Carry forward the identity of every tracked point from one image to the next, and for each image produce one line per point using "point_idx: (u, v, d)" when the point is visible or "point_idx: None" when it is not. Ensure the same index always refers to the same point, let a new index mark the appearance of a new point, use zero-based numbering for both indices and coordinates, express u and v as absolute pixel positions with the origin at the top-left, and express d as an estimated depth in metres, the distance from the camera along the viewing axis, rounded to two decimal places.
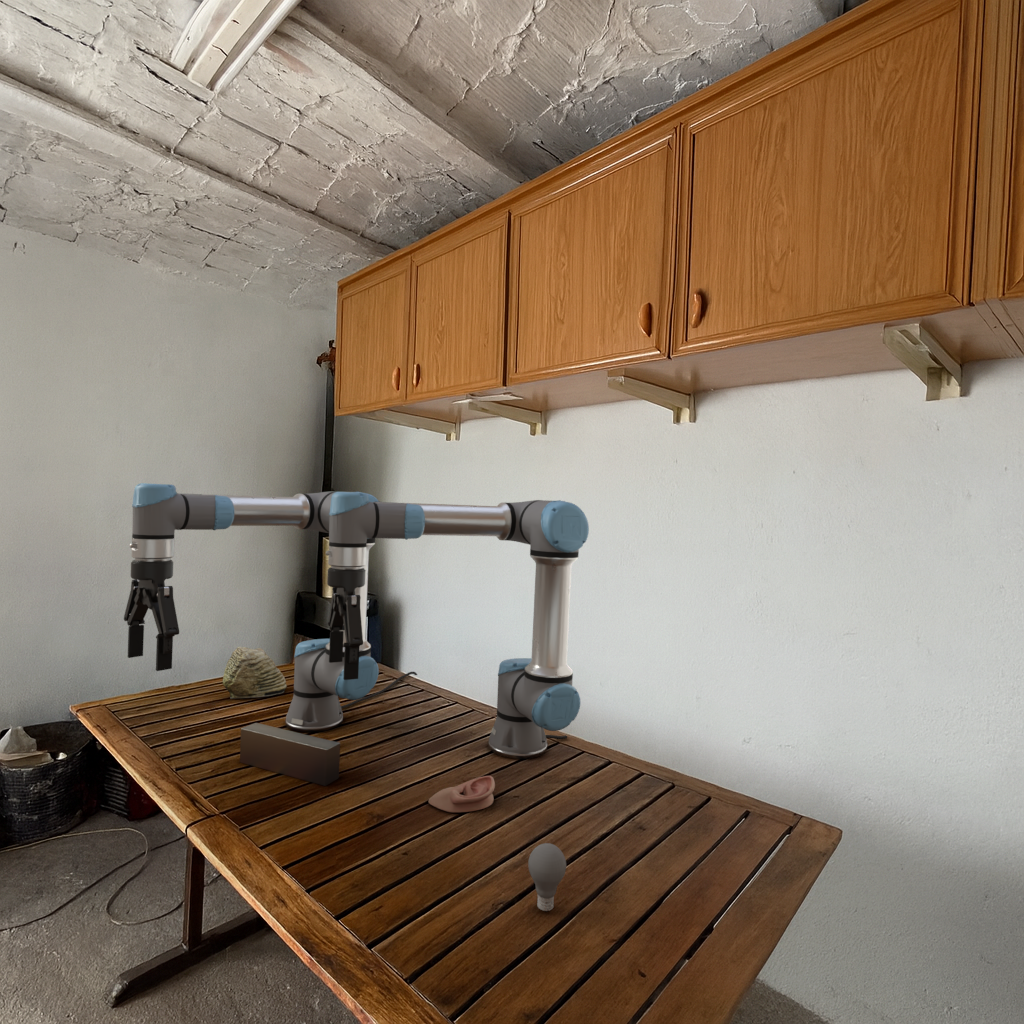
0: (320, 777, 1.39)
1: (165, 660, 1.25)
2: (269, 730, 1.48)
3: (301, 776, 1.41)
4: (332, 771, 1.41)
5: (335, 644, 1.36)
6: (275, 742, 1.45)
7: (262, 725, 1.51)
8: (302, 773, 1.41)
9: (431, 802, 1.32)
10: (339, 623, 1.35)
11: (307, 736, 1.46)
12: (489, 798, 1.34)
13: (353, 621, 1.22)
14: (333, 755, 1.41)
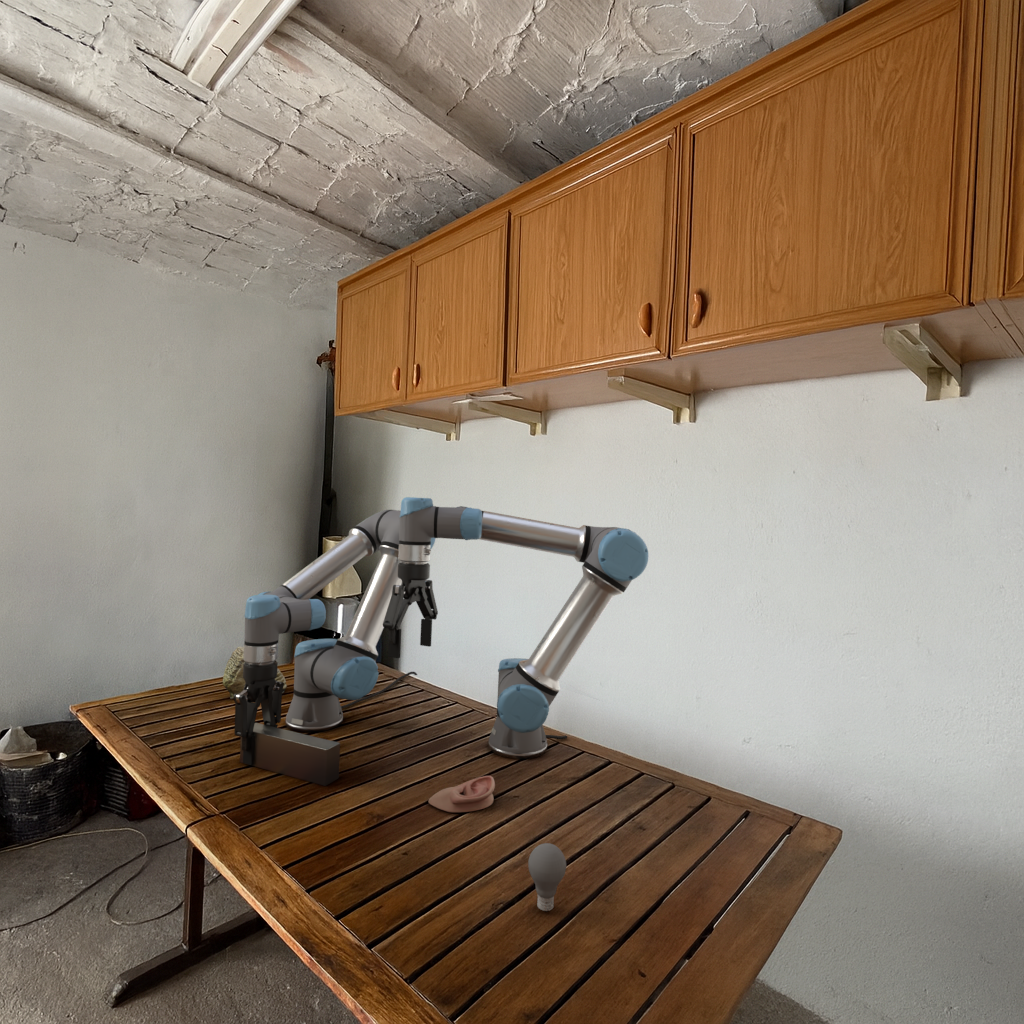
0: (320, 777, 1.39)
1: None
2: (269, 730, 1.48)
3: (301, 776, 1.41)
4: (332, 771, 1.41)
5: None
6: (275, 742, 1.44)
7: (262, 725, 1.51)
8: (302, 773, 1.41)
9: (431, 802, 1.32)
10: None
11: (307, 736, 1.46)
12: (489, 798, 1.34)
13: None
14: (333, 755, 1.41)
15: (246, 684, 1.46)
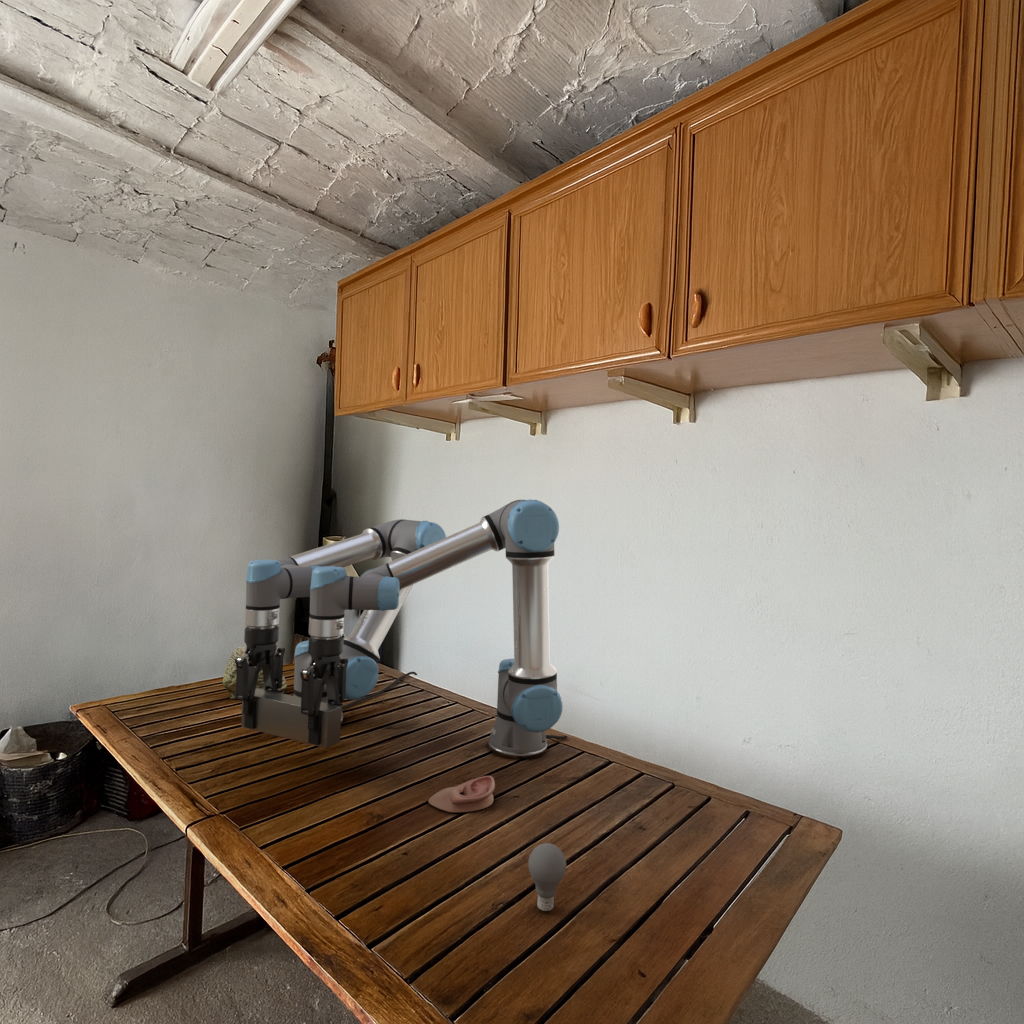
0: (321, 739, 1.39)
1: None
2: (270, 694, 1.48)
3: (302, 739, 1.41)
4: (333, 734, 1.40)
5: None
6: (276, 706, 1.44)
7: (263, 690, 1.51)
8: (303, 736, 1.41)
9: (431, 802, 1.32)
10: None
11: None
12: (489, 798, 1.34)
13: None
14: (334, 718, 1.41)
15: (247, 648, 1.46)
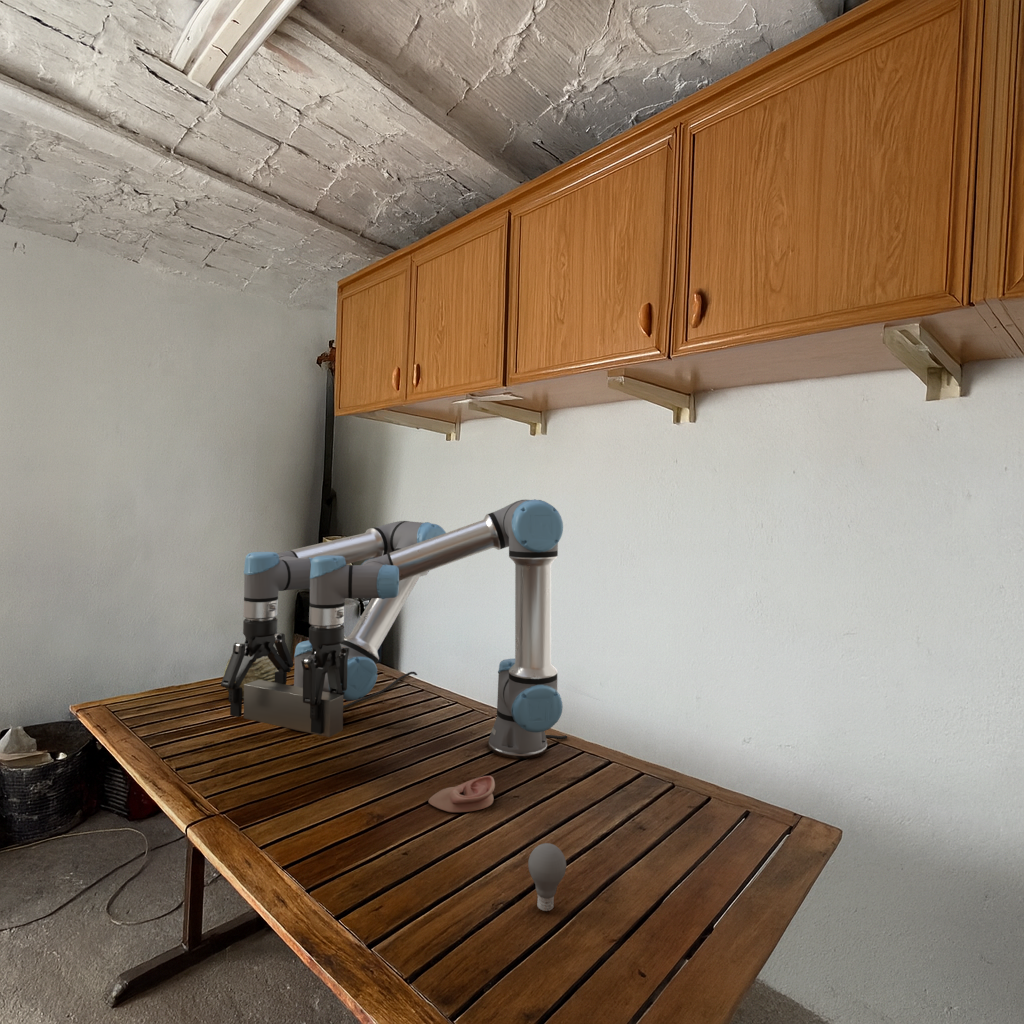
0: (324, 728, 1.39)
1: None
2: (272, 685, 1.48)
3: (305, 728, 1.41)
4: (336, 723, 1.41)
5: None
6: (278, 696, 1.44)
7: (265, 681, 1.51)
8: (306, 726, 1.41)
9: (431, 802, 1.32)
10: None
11: None
12: (489, 798, 1.34)
13: None
14: (336, 707, 1.41)
15: (246, 640, 1.46)
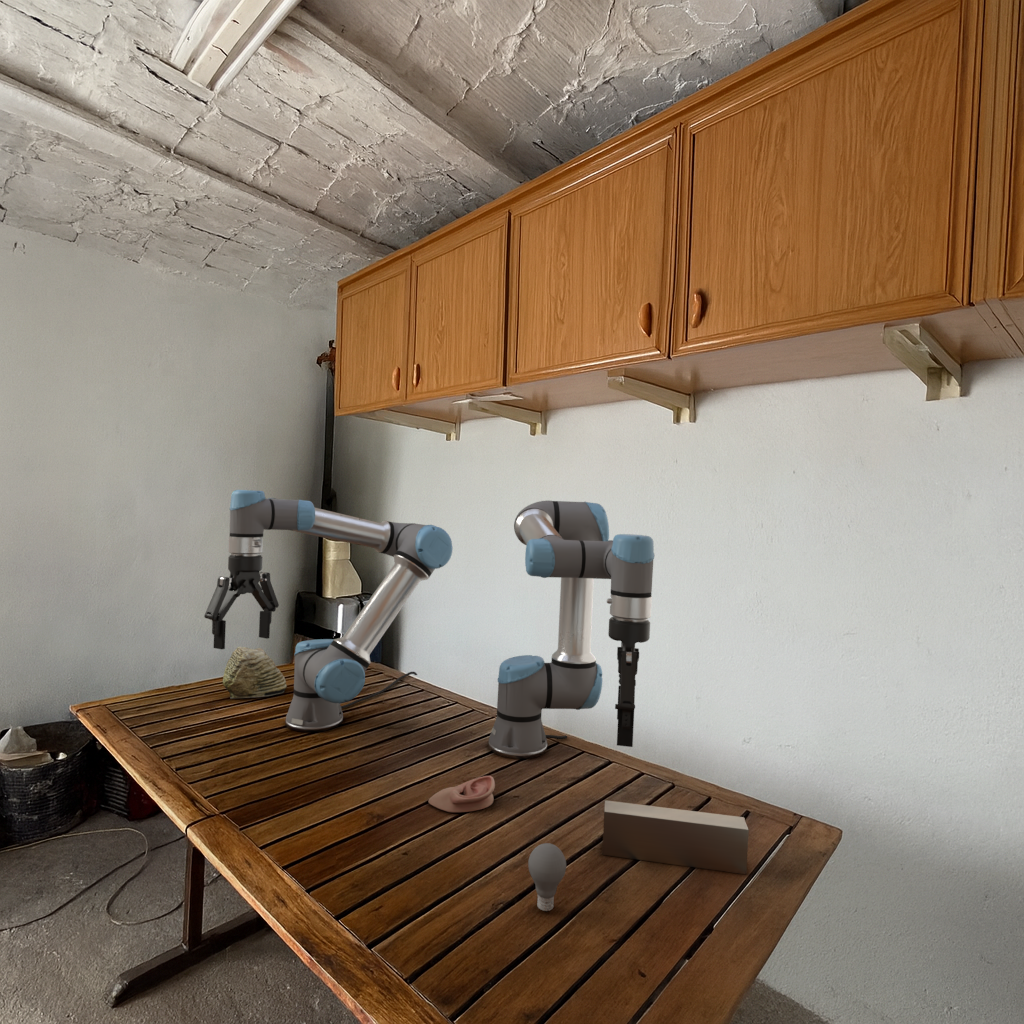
0: None
1: None
2: (709, 819, 1.15)
3: None
4: None
5: None
6: None
7: (731, 825, 1.13)
8: None
9: (431, 802, 1.32)
10: None
11: (653, 815, 1.15)
12: (489, 798, 1.34)
13: (626, 681, 1.09)
14: None
15: (231, 575, 1.48)
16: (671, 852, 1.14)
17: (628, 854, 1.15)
